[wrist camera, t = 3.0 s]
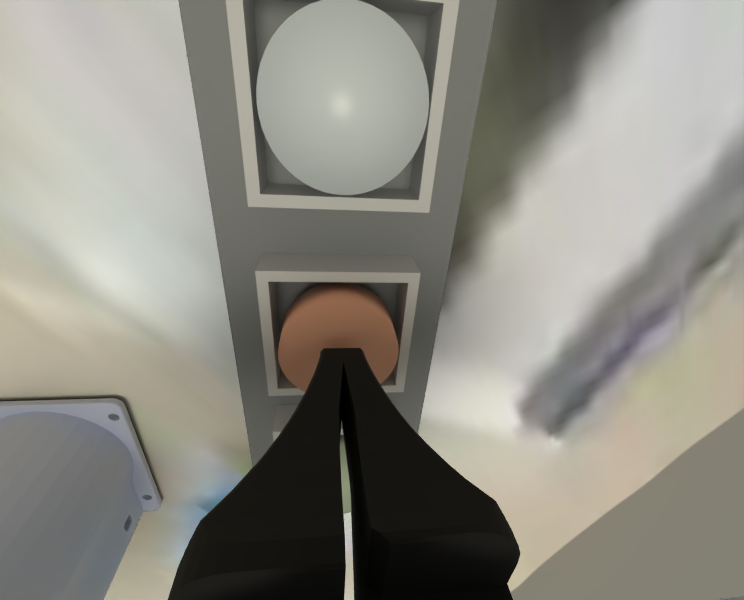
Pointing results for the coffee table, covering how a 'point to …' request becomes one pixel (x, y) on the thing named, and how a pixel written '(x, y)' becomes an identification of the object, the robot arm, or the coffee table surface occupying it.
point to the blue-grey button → (342, 96)
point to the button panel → (330, 197)
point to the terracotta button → (336, 330)
